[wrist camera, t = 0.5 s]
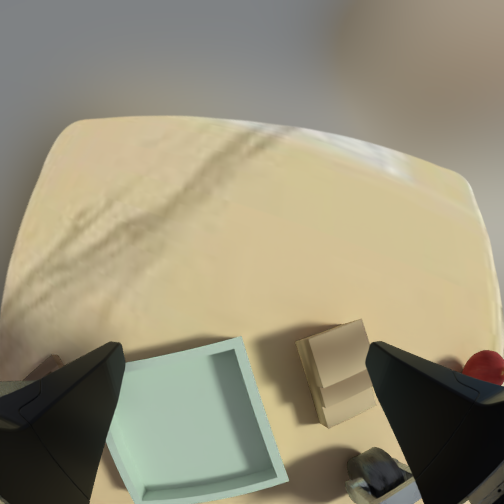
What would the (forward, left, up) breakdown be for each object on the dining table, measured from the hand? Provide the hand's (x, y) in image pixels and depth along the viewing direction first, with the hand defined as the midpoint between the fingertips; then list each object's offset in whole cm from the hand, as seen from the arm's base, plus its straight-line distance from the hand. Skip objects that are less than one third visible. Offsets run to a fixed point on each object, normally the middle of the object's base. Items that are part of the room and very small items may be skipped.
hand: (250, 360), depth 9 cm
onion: (-13, -25, -15) cm, 32 cm away
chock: (-5, -8, -15) cm, 18 cm away
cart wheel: (-16, -8, -15) cm, 24 cm away
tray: (-6, +6, -15) cm, 17 cm away
